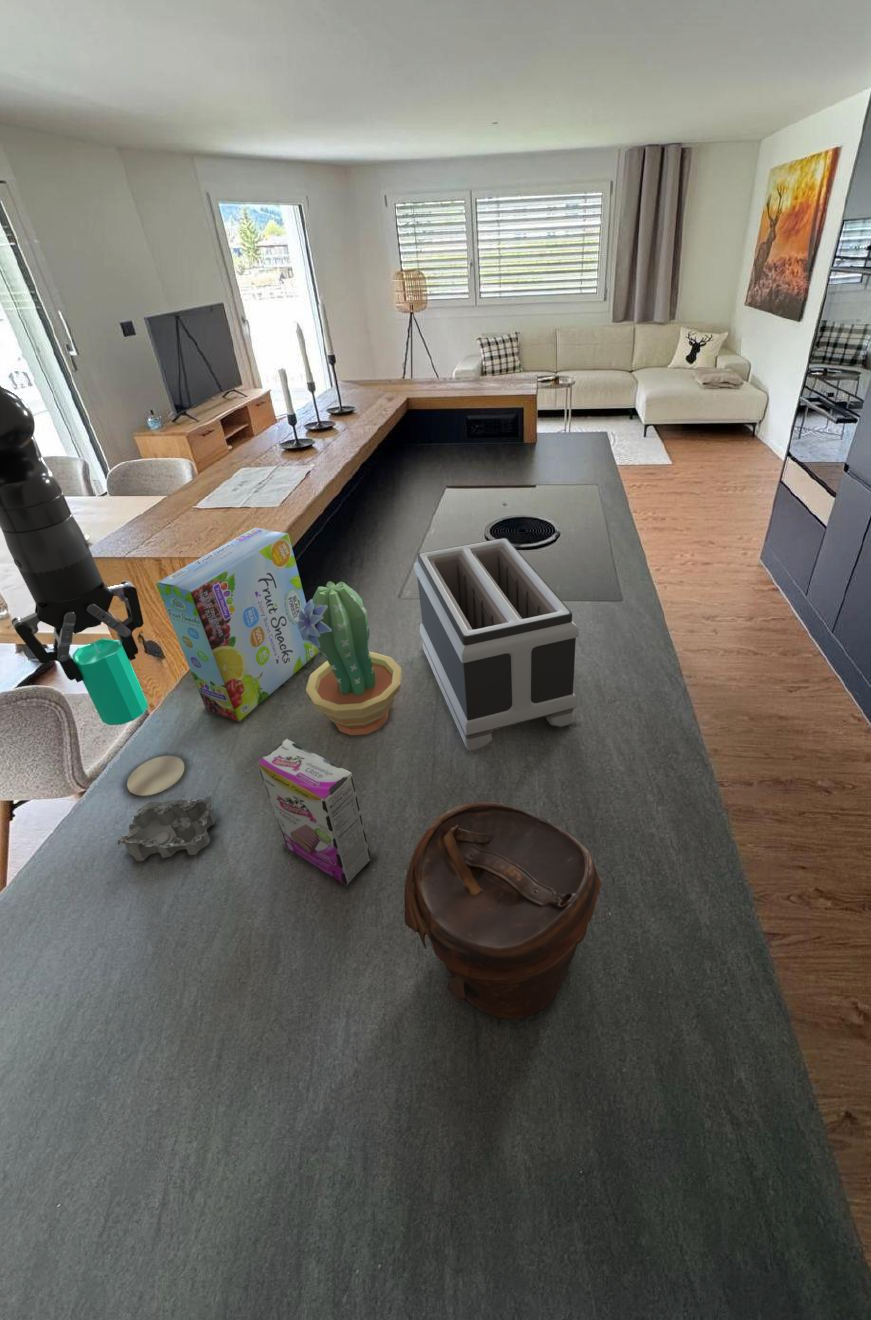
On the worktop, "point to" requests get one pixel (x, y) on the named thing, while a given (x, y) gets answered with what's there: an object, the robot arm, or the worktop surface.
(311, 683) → the potted cactus
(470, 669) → the toaster
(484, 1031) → the worktop surface
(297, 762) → the candy bar box
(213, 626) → the snack box
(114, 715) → the candle
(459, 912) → the case
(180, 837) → the egg carton
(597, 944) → the worktop surface
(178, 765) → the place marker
